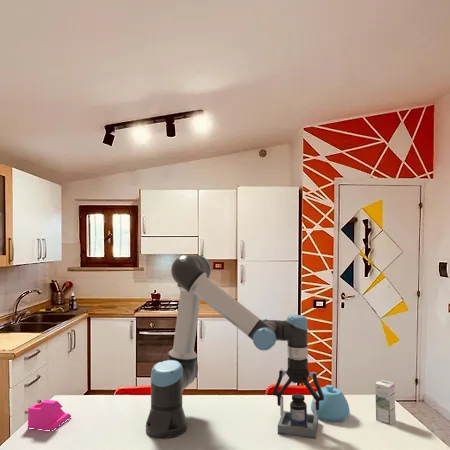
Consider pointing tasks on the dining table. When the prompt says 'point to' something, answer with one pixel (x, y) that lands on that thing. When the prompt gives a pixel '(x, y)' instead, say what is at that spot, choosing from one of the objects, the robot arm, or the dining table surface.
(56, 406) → the bracket
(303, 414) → the pill bottle
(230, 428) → the dining table surface
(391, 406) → the syrup box
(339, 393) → the sugar bowl
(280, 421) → the bin
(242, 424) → the dining table surface
